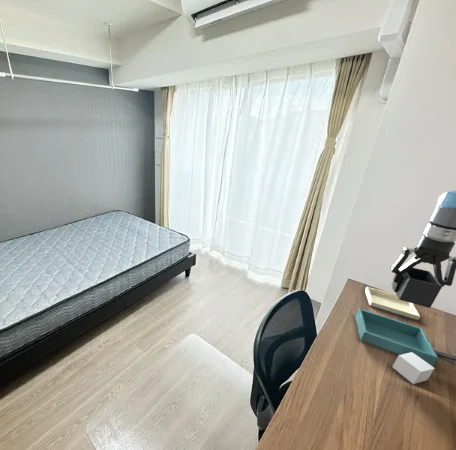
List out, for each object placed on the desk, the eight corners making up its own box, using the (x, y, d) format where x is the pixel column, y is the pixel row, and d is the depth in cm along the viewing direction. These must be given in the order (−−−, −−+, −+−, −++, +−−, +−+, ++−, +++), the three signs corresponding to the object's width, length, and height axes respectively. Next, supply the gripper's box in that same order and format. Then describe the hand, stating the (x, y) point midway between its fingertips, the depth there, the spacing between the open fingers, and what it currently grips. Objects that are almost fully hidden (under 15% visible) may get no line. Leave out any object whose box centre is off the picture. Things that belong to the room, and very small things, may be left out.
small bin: (419, 291, 92) (429, 271, 89) (430, 308, 83) (442, 286, 80) (391, 284, 96) (400, 264, 92) (399, 299, 87) (409, 278, 84)
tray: (408, 302, 114) (410, 298, 114) (417, 321, 103) (420, 316, 102) (364, 290, 122) (366, 286, 121) (369, 306, 111) (371, 301, 110)
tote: (417, 337, 95) (422, 328, 93) (432, 367, 82) (438, 357, 81) (354, 316, 104) (358, 308, 102) (359, 341, 92) (364, 331, 90)
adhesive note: (426, 381, 78) (435, 368, 75) (412, 385, 76) (421, 372, 74) (404, 364, 83) (412, 351, 81) (391, 368, 82) (398, 355, 79)
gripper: (400, 234, 83) (375, 289, 91) (492, 250, 73) (455, 311, 81) (394, 227, 89) (372, 279, 97) (479, 242, 79) (445, 298, 87)
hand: (410, 294), depth 89 cm, fingers closed on small bin, 8 cm apart
